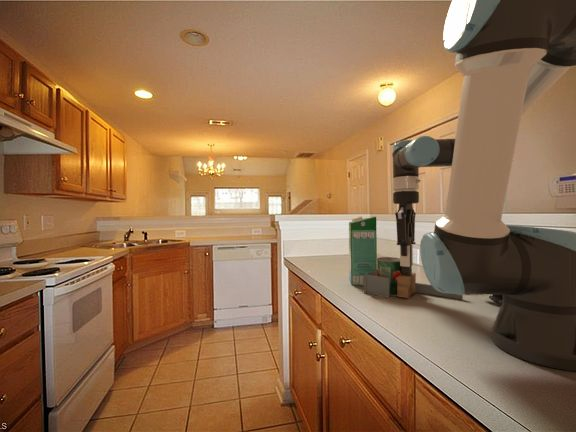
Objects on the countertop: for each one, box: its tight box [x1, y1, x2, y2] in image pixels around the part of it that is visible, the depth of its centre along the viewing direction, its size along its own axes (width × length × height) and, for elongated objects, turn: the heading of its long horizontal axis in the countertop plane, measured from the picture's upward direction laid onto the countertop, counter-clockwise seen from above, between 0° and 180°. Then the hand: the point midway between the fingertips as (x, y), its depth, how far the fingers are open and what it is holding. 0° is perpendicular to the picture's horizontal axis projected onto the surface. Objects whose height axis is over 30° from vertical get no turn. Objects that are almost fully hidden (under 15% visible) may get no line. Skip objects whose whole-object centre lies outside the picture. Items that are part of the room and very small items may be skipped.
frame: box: [363, 270, 464, 301], centre depth 87 cm, size 12×26×6 cm, turn 51°
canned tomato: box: [377, 256, 402, 297], centre depth 91 cm, size 8×8×11 cm
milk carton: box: [348, 215, 378, 286], centre depth 105 cm, size 9×9×25 cm
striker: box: [396, 237, 417, 299], centre depth 88 cm, size 9×3×18 cm, turn 141°
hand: (406, 265), depth 88 cm, fingers closed on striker, 2 cm apart
